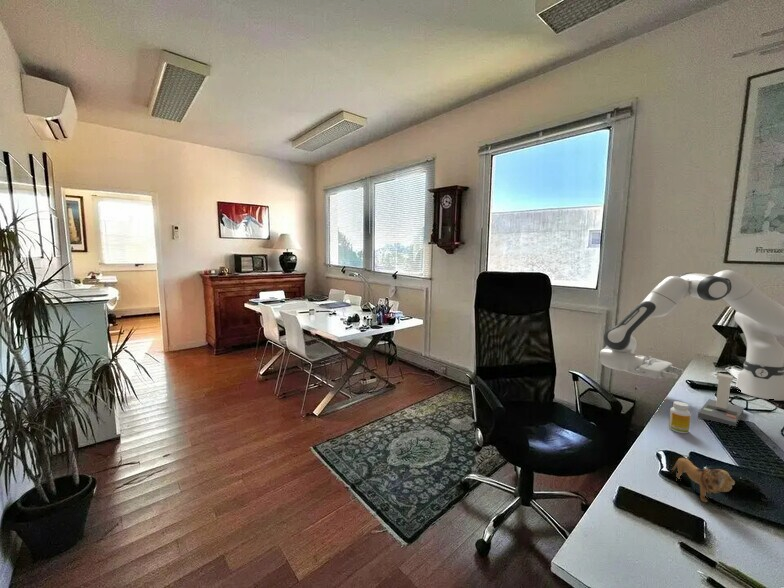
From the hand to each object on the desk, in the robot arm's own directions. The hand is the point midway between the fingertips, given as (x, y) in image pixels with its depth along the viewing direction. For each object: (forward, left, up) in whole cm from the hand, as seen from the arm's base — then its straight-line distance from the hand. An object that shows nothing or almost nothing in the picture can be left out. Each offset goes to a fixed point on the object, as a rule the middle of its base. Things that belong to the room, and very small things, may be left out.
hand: (680, 374), depth 137 cm
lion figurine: (+64, +17, -13) cm, 68 cm away
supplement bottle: (+28, +6, -13) cm, 31 cm away
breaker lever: (0, +13, -10) cm, 16 cm away
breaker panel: (0, +13, -13) cm, 18 cm away
